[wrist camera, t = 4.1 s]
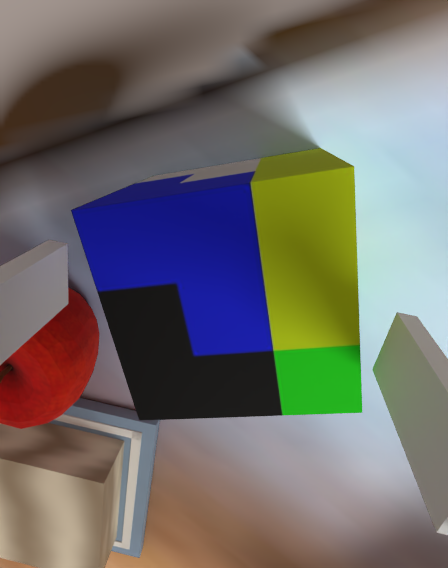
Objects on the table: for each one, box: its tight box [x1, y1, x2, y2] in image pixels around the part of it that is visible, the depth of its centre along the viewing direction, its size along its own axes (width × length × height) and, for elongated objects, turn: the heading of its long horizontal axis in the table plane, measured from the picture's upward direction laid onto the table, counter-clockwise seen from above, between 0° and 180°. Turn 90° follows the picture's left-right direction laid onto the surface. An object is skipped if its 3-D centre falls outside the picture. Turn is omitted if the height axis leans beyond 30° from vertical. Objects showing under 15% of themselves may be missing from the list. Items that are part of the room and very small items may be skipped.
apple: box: [0, 288, 99, 429], centre depth 24 cm, size 9×9×8 cm
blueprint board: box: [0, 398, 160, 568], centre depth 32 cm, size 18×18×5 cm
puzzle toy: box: [71, 148, 362, 420], centre depth 19 cm, size 10×10×10 cm
